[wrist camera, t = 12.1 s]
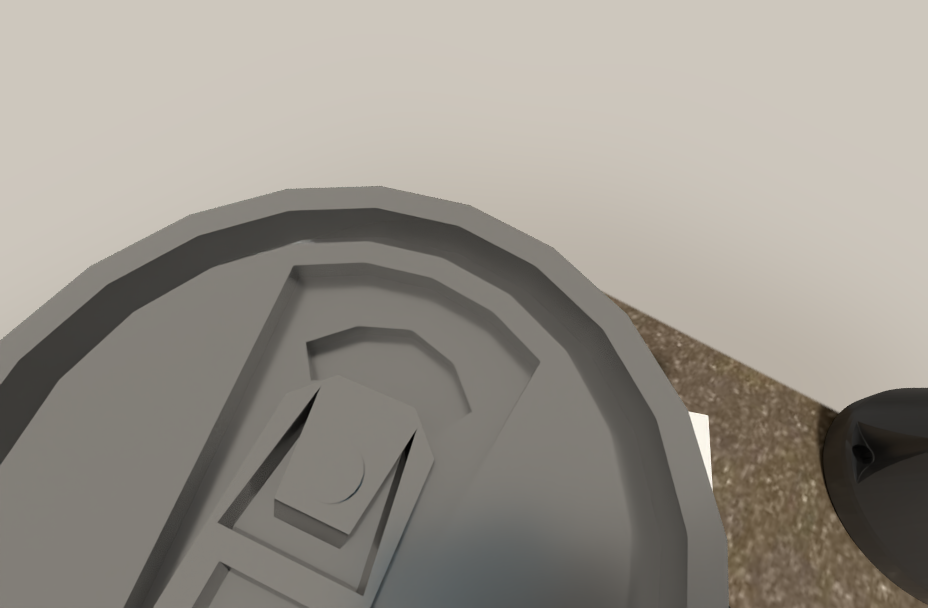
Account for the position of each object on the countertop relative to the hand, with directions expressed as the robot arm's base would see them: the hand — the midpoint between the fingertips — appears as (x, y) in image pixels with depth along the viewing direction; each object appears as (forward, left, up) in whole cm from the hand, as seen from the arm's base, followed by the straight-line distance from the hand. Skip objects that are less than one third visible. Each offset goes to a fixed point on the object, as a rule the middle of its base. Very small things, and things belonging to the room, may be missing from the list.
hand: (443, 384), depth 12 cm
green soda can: (-3, +2, -4) cm, 5 cm away
